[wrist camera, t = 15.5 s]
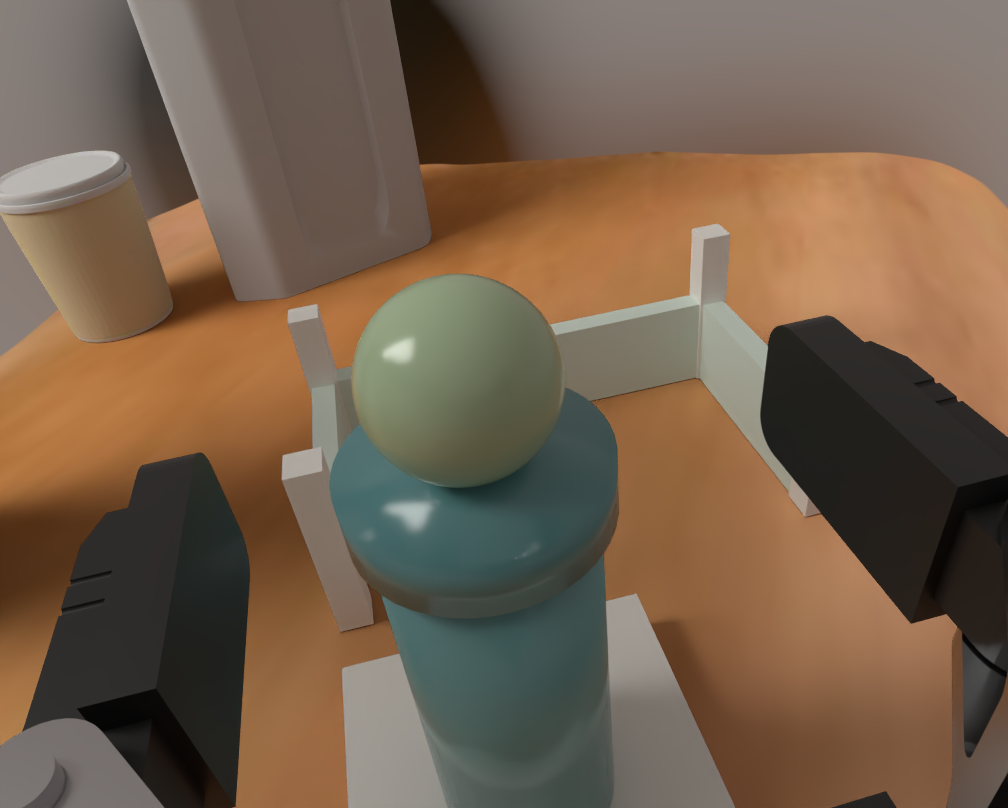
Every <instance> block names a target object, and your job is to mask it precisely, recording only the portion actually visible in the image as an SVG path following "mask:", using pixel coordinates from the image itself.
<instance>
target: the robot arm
mask: <svg viewBox="0 0 1008 808" xmlns="http://www.w3.org/2000/svg"><path fill="white" fill-rule="evenodd" d="M956 397H957V396H955V395H954V394H953V393H952V392H951V391H949V390H948V389H947V388H946V387H944V386H943V385H942V384H941V383H937V384H936V383H935V381H934V378H933V377H932V376H931V375H929V374H928V373H927V372H926V371H924V370H923V369H922V368H921V367H919V366H918V365H917V364H916V363H914V362H913V361H912V360H911V359H909V358H908V357H907V356H904V355H902V354H900V353H897V352H895V351H893V350H890V349H888V348H886V347H883V346H881V345H879V344H876V343H874V342H872V341H869V342H863V341H862V340H861V339H860V338H859V337H857V336H856V335H855V334H854V333H853V332H851V331H850V330H849V329H848V328H847V327H845V326H844V325H843V324H842V323H841V322H839V321H838V320H837V319H835V318H834V317H832V316H827V315H826V316H822V317H817V318H812V319H808V320H803V321H799V322H794V323H790V324H785V325H781V326H777V327H776V328H774V329H773V331H772V332H771V335H770V338H769V343H768V351H767V359H766V367H765V376H764V384H763V392H762V400H761V409H760V421H761V427H762V432H763V435H764V438H765V441H766V443H767V445H768V447H769V449H770V450H771V452H772V453H773V455H774V456H775V457H776V458H777V460H778V461H779V462H780V463H781V465H782V466H783V467H784V468H785V469H786V471H787V472H788V473H789V474H790V476H791V477H792V478H793V479H794V481H795V482H796V483H797V484H798V485H799V487H800V488H801V489H802V490H803V492H804V493H805V494H806V495H807V497H808V498H809V499H810V500H811V501H812V503H813V504H814V505H815V506H816V508H817V509H818V510H819V511H820V513H821V514H822V515H823V516H824V517H825V519H826V520H827V521H828V522H829V524H830V525H831V526H832V527H833V529H834V530H835V531H836V532H837V533H838V535H839V536H840V537H841V538H842V540H843V541H844V542H845V543H846V545H847V546H848V547H849V548H850V549H851V551H852V552H853V553H854V554H855V556H856V557H857V558H858V559H859V561H860V562H861V563H862V564H863V565H864V567H865V568H866V569H867V570H868V572H869V573H870V574H871V575H872V577H873V578H874V579H875V580H876V581H877V583H878V584H879V585H880V586H881V588H882V589H883V590H884V591H885V593H886V594H887V595H888V596H889V597H890V599H891V600H892V601H893V602H894V604H895V605H896V606H897V607H898V609H899V610H900V611H901V612H902V613H903V615H904V616H905V617H906V618H907V620H908V621H909V622H910V623H911V624H912V623H915V622H919V621H923V620H926V619H930V618H934V617H937V616H941V615H944V614H947V615H948V616H949V618H950V619H951V620H952V621H953V622H954V623H955V624H956V626H957V629H956V632H955V634H954V637H953V640H952V780H951V788H950V793H949V798H948V802H947V806H946V808H1008V437H1007V436H1005V435H1004V434H1003V433H1002V432H1000V431H999V430H998V429H997V428H995V427H994V426H993V425H992V424H990V423H989V422H988V421H987V420H985V419H984V418H983V417H982V416H980V415H979V414H978V413H977V412H975V411H974V410H973V409H972V408H970V407H969V406H968V405H967V404H965V403H964V402H963V401H960V402H958V401H957V398H956ZM70 581H71V586H70V587H68V588H67V591H66V595H65V598H64V601H63V604H62V607H61V610H62V616H59V617H58V620H57V623H56V626H55V630H54V633H53V636H52V639H51V642H50V646H49V649H48V652H47V655H46V658H45V662H44V665H43V668H42V671H41V674H40V677H39V681H38V684H37V687H36V690H35V693H34V697H33V700H32V703H31V706H30V709H29V713H28V716H27V719H26V722H25V725H24V728H23V731H22V732H21V733H19V734H18V735H16V736H14V737H12V738H11V739H9V740H8V741H7V742H5V743H4V744H2V745H1V746H0V808H233V807H236V791H237V775H238V759H239V743H240V727H241V711H242V695H243V679H244V663H245V647H246V631H247V615H248V599H249V583H250V568H249V559H248V553H247V549H246V545H245V541H244V538H243V535H242V532H241V530H240V528H239V526H238V523H237V521H236V519H235V517H234V515H233V512H232V510H231V508H230V506H229V504H228V501H227V499H226V497H225V495H224V493H223V490H222V488H221V486H220V484H219V482H218V479H217V477H216V475H215V473H214V471H213V468H212V466H211V464H210V462H209V460H208V459H207V457H206V456H205V455H204V454H203V453H195V454H191V455H186V456H182V457H177V458H173V459H168V460H164V461H159V462H155V463H150V464H146V465H142V466H141V467H140V468H139V470H138V473H137V476H136V480H135V484H134V488H133V491H132V495H131V499H130V503H129V507H128V508H126V509H122V510H117V511H113V512H108V513H106V514H105V516H104V517H103V518H102V520H101V521H100V522H99V523H98V525H97V526H96V527H95V528H94V530H93V531H92V532H91V534H90V535H89V536H88V537H87V539H86V540H85V541H84V542H83V544H82V545H81V547H80V550H79V553H78V556H77V559H76V563H75V566H74V569H73V572H72V575H71V579H70ZM832 808H896V806H895V805H894V803H893V801H892V800H891V798H890V797H889V795H888V794H887V792H886V791H885V792H882V793H879V794H875V795H872V796H869V797H865V798H862V799H859V800H855V801H852V802H849V803H846V804H842V805H839V806H836V807H832Z"/></svg>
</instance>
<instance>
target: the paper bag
mask: <svg viewBox="0 0 1008 808" xmlns="http://www.w3.org/2000/svg"><path fill="white" fill-rule="evenodd" d="M127 2H128V4H129V7H130V10H131V13H132V15H133V18H134V21H135V24H136V26H137V29H138V32H139V35H140V37H141V40H142V43H143V46H144V48H145V51H146V54H147V57H148V59H149V62H150V65H151V68H152V70H153V73H154V76H155V79H156V81H157V84H158V87H159V90H160V92H161V95H162V98H163V101H164V103H165V106H166V109H167V112H168V114H169V117H170V120H171V123H172V125H173V128H174V131H175V133H176V136H177V139H178V142H179V144H180V147H181V150H182V153H183V156H184V158H185V161H186V164H187V167H188V169H189V172H190V175H191V177H192V180H193V183H194V186H195V189H196V191H197V194H198V197H199V200H200V202H201V205H202V208H203V211H204V213H205V216H206V219H207V222H208V224H209V227H210V230H211V233H212V235H213V238H214V241H215V243H216V246H217V249H218V252H219V254H220V257H221V260H222V263H223V265H224V268H225V271H226V274H227V276H228V279H229V282H230V285H231V287H232V290H233V293H234V296H235V298H236V300H237V301H257V300H272V299H283V298H288V297H291V296H294V295H297V294H300V293H302V292H305V291H308V290H310V289H313V288H316V287H318V286H321V285H324V284H326V283H329V282H332V281H334V280H337V279H340V278H342V277H345V276H348V275H351V274H353V273H356V272H359V271H361V270H364V269H367V268H369V267H372V266H375V265H377V264H380V263H383V262H385V261H388V260H391V259H393V258H396V257H399V256H401V255H404V254H407V253H409V252H412V251H415V250H418V249H420V248H423V247H425V246H426V245H427V244H428V243H429V242H430V239H431V236H432V232H431V226H430V221H429V215H428V210H427V204H426V198H425V193H424V187H423V182H422V176H421V171H420V165H419V160H418V154H417V149H416V143H415V138H414V133H413V127H412V122H411V116H410V110H409V104H408V99H407V93H406V88H405V83H404V77H403V71H402V65H401V60H400V54H399V49H398V43H397V39H396V33H395V27H394V21H393V16H392V10H391V5H390V0H127Z"/></svg>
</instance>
